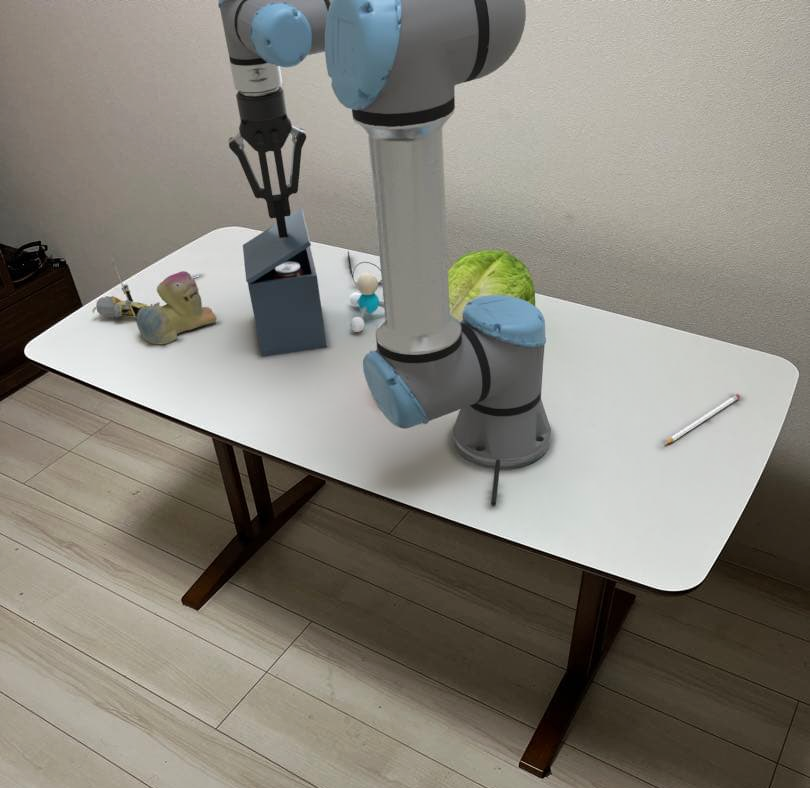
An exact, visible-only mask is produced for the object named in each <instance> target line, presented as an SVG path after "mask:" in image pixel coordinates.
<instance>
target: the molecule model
mask: <svg viewBox="0 0 810 788" xmlns="http://www.w3.org/2000/svg"><path fill="white" fill-rule="evenodd" d="M378 282H379V281H378V279H377V277H376V276H375V275H374V274H373V273H370V272H364V273H362V274H361V275H360V276H359V277H358V278H357V281H356V284H357V285H356V287H357V290H358V291H359V292H353V293H351V294H350V296H349V299H348V300H349V301H348V302H349V303H350V305H351V306H352V307H355V308H358V307H359V309H360V313H359V315H358V316H355V317H353V318H352V319H351V320H350V324H349V325H350V329H351V330H352V331H353V332H357V333H359V332H361V331H363V330H364V328H365V326H366V325H365V320H364V319H365V316H366V314H372V313H374V312H375V311H377V310H378V308H379V307H381V308H384V301H382V300H380V299H379V296H378V295H377V294H376V291H377V290H378V286H379V284H378ZM384 309H385V308H384Z"/></svg>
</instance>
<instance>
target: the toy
mask: <svg viewBox="0 0 810 788" xmlns="http://www.w3.org/2000/svg"><path fill="white" fill-rule="evenodd" d="M110 261H111V264H112V266H114V269H115V271H116V275H117V277H118V279H119V281H120V282H119V283H120V285H121V288H120V289H121V291H122V292H123V294H124V295H125V298H126V300H121V299H120V298H118V297H117V296H113V295H112V296H108V295H106V296H103V297H100V298H99V299H98V300H96V304H95V306H94V307H93V309H92V314H95V311H96V312H97V313H98V314H99V315H100V316H101V317H102V318H116V319H119V318H120V317H122V316H123V317H129V318H130V317H131V318H134V319H137V314H138V312H139V310H140V309H141V308H142V307H146V306H148V304H146V303H143V302H142V303H141V302H137V301H134V299H133V298H132V295H131V291H130V288H129V285H128V284H127V283H125V284H124V283H123V281H122V278H121V277H120V273H119V271H118V269H117V264H116V261H115V259H114V258H113V255H112V254H110ZM151 305H154V306H157V305H159V306H160V301H158V302H156V303H154V304H153V303H151V304H150V305H149V306H151Z"/></svg>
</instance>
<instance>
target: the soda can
mask: <svg viewBox="0 0 810 788" xmlns="http://www.w3.org/2000/svg"><path fill="white" fill-rule="evenodd" d="M275 270H276V272H275V279H281V278H288V277H296V276H303V271H302V269H301V268H300V265H299V264H298V263H296V262H284V263H282V264H280V265H279V266H277V267H276V268H275Z"/></svg>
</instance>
